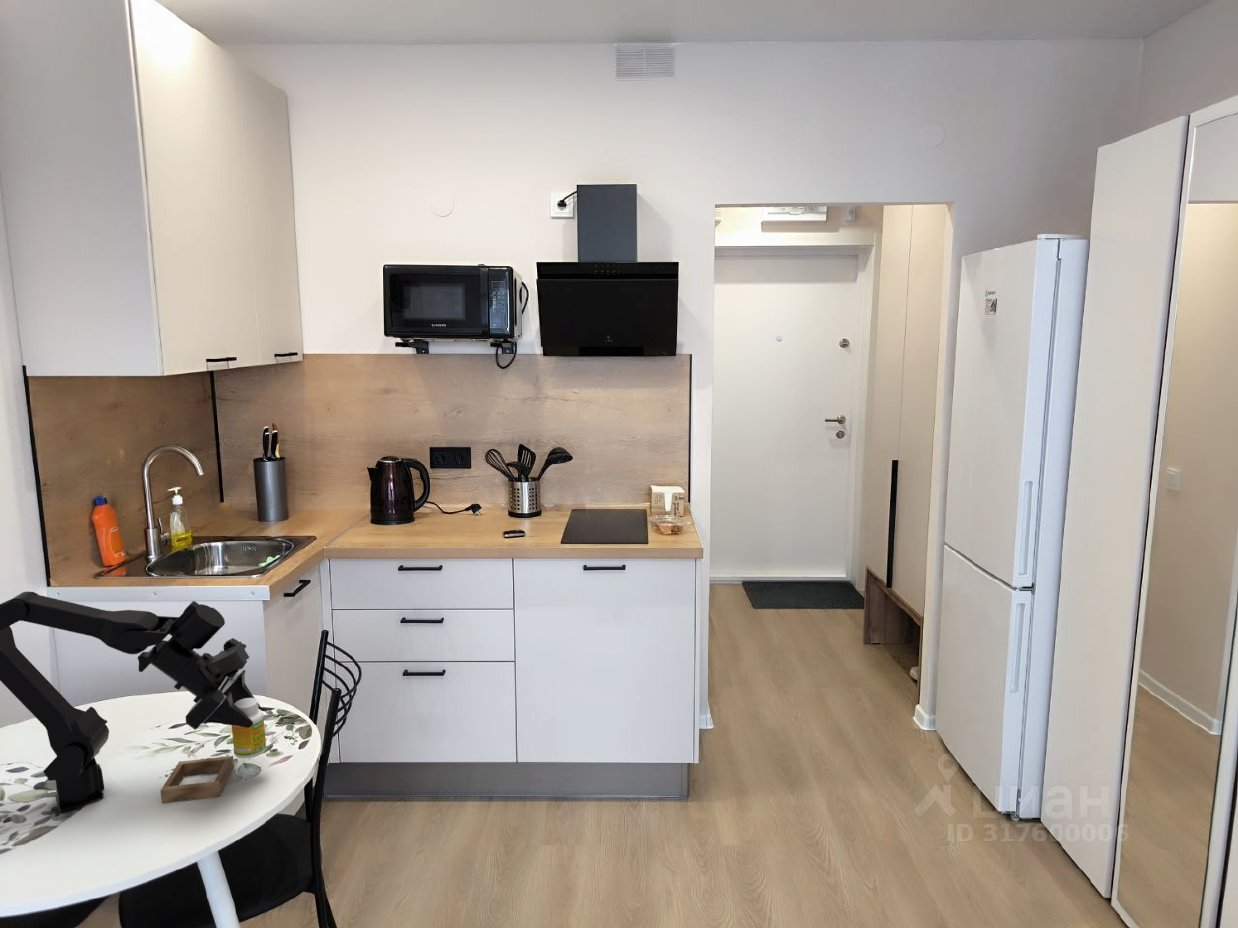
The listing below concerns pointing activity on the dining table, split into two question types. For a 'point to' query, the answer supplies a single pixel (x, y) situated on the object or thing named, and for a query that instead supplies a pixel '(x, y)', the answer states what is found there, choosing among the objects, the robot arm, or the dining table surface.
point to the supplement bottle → (249, 731)
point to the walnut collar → (197, 790)
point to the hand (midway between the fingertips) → (255, 717)
